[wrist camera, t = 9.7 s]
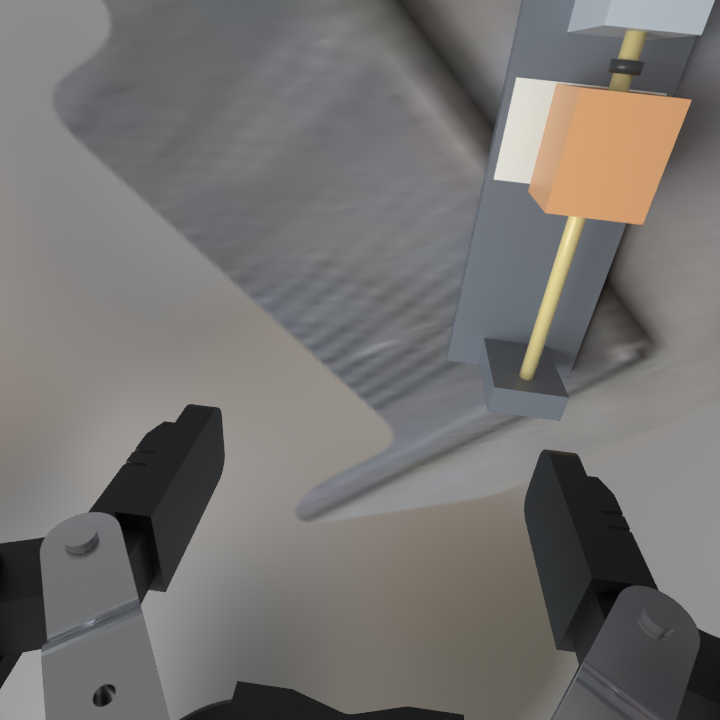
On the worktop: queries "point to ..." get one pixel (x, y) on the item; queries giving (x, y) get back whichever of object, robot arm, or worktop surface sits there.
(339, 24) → the worktop surface
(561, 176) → the sleeve
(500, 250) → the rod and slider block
